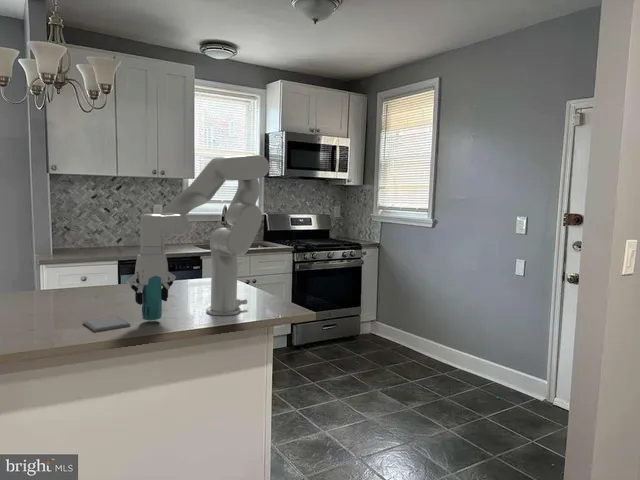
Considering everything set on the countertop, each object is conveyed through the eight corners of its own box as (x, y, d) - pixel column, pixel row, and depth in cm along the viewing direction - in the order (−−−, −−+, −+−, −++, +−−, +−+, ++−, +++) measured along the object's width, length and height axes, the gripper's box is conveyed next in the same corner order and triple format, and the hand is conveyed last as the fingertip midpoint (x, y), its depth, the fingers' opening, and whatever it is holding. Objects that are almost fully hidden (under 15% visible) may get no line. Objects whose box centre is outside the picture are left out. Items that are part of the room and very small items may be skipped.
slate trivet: (117, 318, 161) (117, 316, 161) (130, 326, 153) (130, 323, 153) (83, 323, 154) (83, 321, 154) (95, 332, 146) (95, 329, 146)
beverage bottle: (164, 319, 162) (165, 262, 160) (158, 325, 156) (159, 265, 154) (145, 319, 162) (145, 262, 160) (138, 324, 156) (138, 265, 153)
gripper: (171, 248, 165) (170, 296, 167) (121, 250, 153) (121, 303, 155) (181, 250, 160) (181, 301, 162) (130, 253, 148) (130, 308, 150)
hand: (151, 301), depth 158 cm, fingers open, 8 cm apart
